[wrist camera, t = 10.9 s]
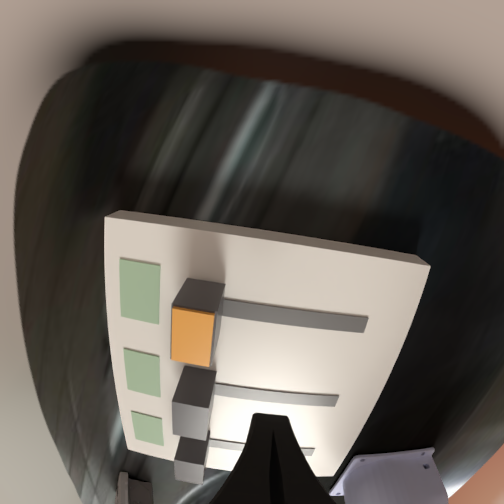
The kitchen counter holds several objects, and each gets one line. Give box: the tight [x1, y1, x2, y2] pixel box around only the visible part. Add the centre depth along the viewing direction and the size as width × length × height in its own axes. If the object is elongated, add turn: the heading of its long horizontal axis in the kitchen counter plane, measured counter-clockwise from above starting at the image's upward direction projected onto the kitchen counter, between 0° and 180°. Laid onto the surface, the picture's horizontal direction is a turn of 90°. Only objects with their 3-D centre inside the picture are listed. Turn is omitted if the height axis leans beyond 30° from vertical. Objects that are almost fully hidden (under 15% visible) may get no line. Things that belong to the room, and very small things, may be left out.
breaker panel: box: [104, 210, 431, 485], centre depth 18 cm, size 18×20×5 cm
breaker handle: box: [170, 278, 226, 367], centre depth 15 cm, size 2×3×3 cm, turn 172°
